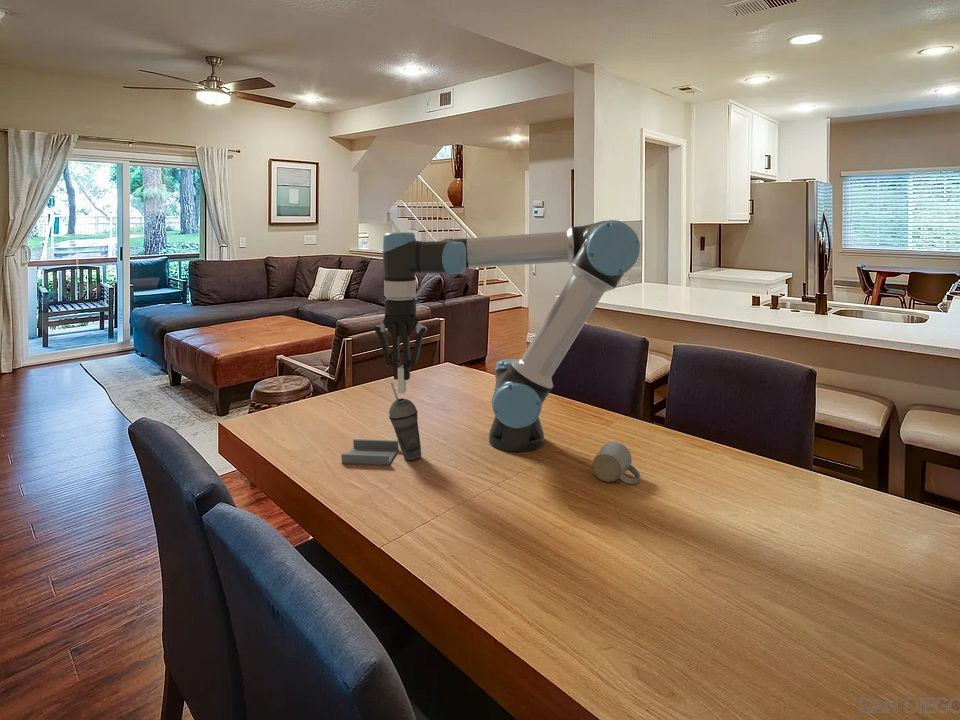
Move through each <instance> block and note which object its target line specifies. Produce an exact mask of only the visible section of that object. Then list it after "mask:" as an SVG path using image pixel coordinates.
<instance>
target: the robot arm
mask: <svg viewBox="0 0 960 720" xmlns="http://www.w3.org/2000/svg"><path fill="white" fill-rule="evenodd" d="M382 244H383V245H382V248H383V249H382V260H383V262H382V263H383V293H384V294H383V295H384V297H385V299H384V318H383V319H382V322H381V323H380V324H378V325H375V326H374V328H373V330H374V331H375V333H376V334H377V336H378V339H379V342H380V347H381V350H382V354H383V358H384V361H385V364H386V365H387V366H388V365H389V366H392V367H393V379H394V380H397V395H398V394H400V395H401V394H405V393H406V392H407V381H409V380H410V378H411V367H412V366H413V367H414V366H416V364H417V363H418V360H419V357H420V353H421V352H420V351H421V347H422V343H423V339H424V335H425V333H426V332H427V331H428V326H426V325H422V324H421V323H420V322H419V319H418V317H417V300H416V299H415V297H416V296H417V291H416V290H417V288H416V287H417V285H416V284H417V282H416V279H417V277H416V275H417V274H433V275H434V274H436V275H437V274H438V275H439V274H440V275H459V274H460V275H462V274H463V273H464V272H466V269H471V268H486V267H487V268H489V267H503V266H504V267H506V266H521V265H523V266H524V265H539V264H554V263H555V264H556V263H557V264H558V263H568V264H570V266H571V269H572V274H571V275H570V278H569V279H568V280H567V282H566V284H565V285H564V287H563V289H562V290H561V291H560V294H559V296H557V298H556V300H555V301H554V304H553V305H552V307H551V309H550V310H549V312H548V314H547V315H546V317H545V319H544V320H543V322H542V324H541V325H540V327H539V329H538V331H536V333H535V335H534V337H533V339H532V340H531V342H530V343H529V345H528V347H527V348H526V350H525V351H524V354H523V355H522V357H521V358H513V359H511V358H510V359H509V358H508V359H501V360H498V361H497V362H496V363H495V365H496V366H495V369H494V372H495V385H494V390H493V391H494V392H493V395H492V398H491V406H492V411H493V413H494V414H493V415H494V418H493V421H492V423H491V427H490V429H489V433H488V442H489V444H490V446H492V447H494V448H496V449H499V450H501V451H506V452H507V451H508V452H518V453H521V452H530V451H534V450H538V449H540V448H541V447H542V446H543V445H544V444H545V432H544V430H543V427H542V426H543V425H542V424H541V419H540V415H541V412H542V409H543V408H542V407H543V406H542V405H543V404H544V402H545V400H546V398H547V397H548V396H549V394H550V392H551V390H552V389H553V388H554V384H553V379H552V378H553V375H554V374H555V372H556V370H557V369H558V368H559V366H560V364H561V363H562V361H563V359H564V358H565V357H566V355H567V353H568V351H569V350H570V348H571V346H572V345H573V343H574V342H575V340H576V338H577V337H578V335H579V334H580V332H581V330H582V329H583V327H584V325H585V324H586V323H587V321H588V319H590V316H591V315H592V313H593V312H594V310H595V309H596V307H597V305H598V303H599V302H600V300H601V299H602V297H603V295H604V294H605V293H606V292H608V291H612V290H615V289H616V287H617V286H618V284H619V283H620V280H622V277H623V276H624V275H625V274H626V273H627V272H628V271H630V270H631V269H632V268H633V267H634V266H635V264H636V263H637V261H638V259H639V255H640V251H641V245H640V240H639V237H638V235H637V233H636V232H635V230H634V229H633V228H632V227H631V226H629V225H628V224H627V223H625V222H623V221H620V220H616V219H615V220H614V219H609V220H602V221H598V222H594V223H590V224H584V225H580V226H570V227H569V228H568V229H567V230H566V231H552V232H539V233H524V234H509V235H508V234H507V235H496V236H493V235H492V236H480V237H479V236H478V237H466V238H444V239H442V240H437V241H431V240H430V241H422V240H420V241H419V240H417V239H416V235H415V233H413V232H410V231H409V232H405V231H401V232H399V231H394V232H393V231H391V232H386V233H385V234H384V235H383V242H382ZM415 329H416V333H417V335H416V337H415V338H416V339H415V340H414V341H415V342H414V345H413V350H412V355H411V334H412V333H413V332H414V330H415ZM386 330H388V332H389V334H390V335H391V340H392V343H391V345H392V351H391V348H390V343H389V340H388V337H387V334H386V333H387V332H386ZM401 338H402V360H403V362H401V353H400V352H401V349H400V347H401V346H400V343H401V342H400V341H401ZM401 363H403V364H402V365H401Z"/></svg>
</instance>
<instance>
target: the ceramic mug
mask: <svg viewBox="0 0 960 720" xmlns="http://www.w3.org/2000/svg"><path fill="white" fill-rule="evenodd" d="M632 460H633V459H632V454H631V452H630V450H629V448H627V447H626V445H624V444H622V443H620V442H618V441H609V442H607V443H604V445H602V447H601V449H600V450H599V451H598V453H597V454H596V455H595V456H594V459H593V461H592V471H593V473H594V475H595V476H596V477H597V478H598V479H599V480H601V481H603V482H605V483H612V482H613V483H614V482H615V481H617V480H621V481H622V482H624V483H627V484H629V485H636V484H638V482H639V481H640V479H641V474H640V472H639V470H638V469H637V468H635V467H634V466H633V465H632ZM627 471H629V472H630V473H631V474H632V475H633V476H634V477H635V478H634V479H633V478H630V477H628V476H627V475H625V472H627ZM635 483H636V484H635Z"/></svg>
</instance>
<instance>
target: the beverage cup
mask: <svg viewBox="0 0 960 720" xmlns="http://www.w3.org/2000/svg"><path fill="white" fill-rule="evenodd" d="M390 385H391V388H392V390H393V391H392V392H393V394H394V396H395V399H396V400H394V401H393V402H391V403H392V404H391V405H390V407H389V410H388V415H389V416H388V418H389V420H390V423H391V425H392V426H393V429H394V432H395V435H396V439H397V441H398V446H399V449H400V451H401V454H402V456H403V459H404V460H405V461H413V460H416V459H419V458H421V456H422V446H421V439H420V431H419V430H420V429H419V422H418V419H419V418H418V417H419V416H418V409H417V407H416V406H415V404H414V402H413V401H411V400H410V399H407V398H404V397H403V398H399V397H398V393H397V392H396V389H395V386H394V383H393V382H391V383H390Z"/></svg>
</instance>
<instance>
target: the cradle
mask: <svg viewBox="0 0 960 720" xmlns="http://www.w3.org/2000/svg"><path fill="white" fill-rule="evenodd" d="M352 441H353V443H352V444H353V448H352V449H351V450H350V451H349V453H341V454H340V457H341V458H340V459H341V464H342V465H358V466H359V465H363V466H384V467H385V466H387V467H389V466H390V465H391V464H392V463H391V462H393V460H394V458H395V457H396V454H397V452H398V451H399V449H400V445H399V442H398V440H394V439H393V440H392V439H388V440H387V439H386V440H385V439H366V438H354V439H352Z"/></svg>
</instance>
